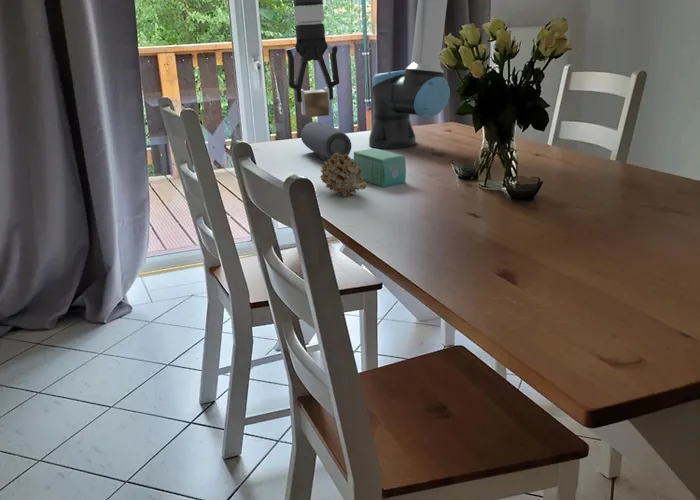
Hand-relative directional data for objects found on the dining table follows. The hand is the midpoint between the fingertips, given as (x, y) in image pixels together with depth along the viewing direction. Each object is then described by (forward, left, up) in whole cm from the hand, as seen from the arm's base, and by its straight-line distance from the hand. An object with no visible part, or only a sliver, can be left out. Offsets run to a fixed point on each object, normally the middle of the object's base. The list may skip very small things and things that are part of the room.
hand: (316, 113), depth 189 cm
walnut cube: (0, 0, 0) cm, 0 cm away
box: (-13, +14, -17) cm, 26 cm away
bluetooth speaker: (-6, -20, -17) cm, 27 cm away
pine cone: (-2, +27, -17) cm, 32 cm away
